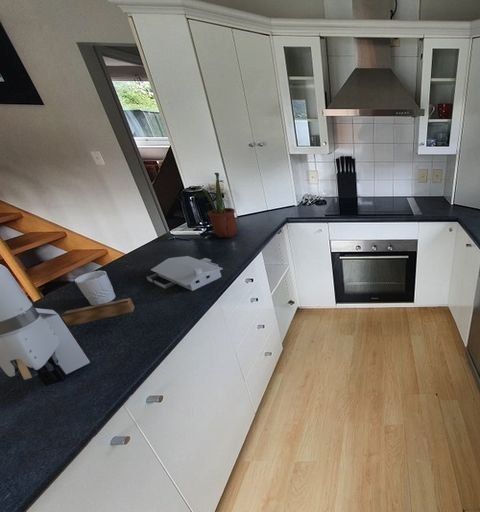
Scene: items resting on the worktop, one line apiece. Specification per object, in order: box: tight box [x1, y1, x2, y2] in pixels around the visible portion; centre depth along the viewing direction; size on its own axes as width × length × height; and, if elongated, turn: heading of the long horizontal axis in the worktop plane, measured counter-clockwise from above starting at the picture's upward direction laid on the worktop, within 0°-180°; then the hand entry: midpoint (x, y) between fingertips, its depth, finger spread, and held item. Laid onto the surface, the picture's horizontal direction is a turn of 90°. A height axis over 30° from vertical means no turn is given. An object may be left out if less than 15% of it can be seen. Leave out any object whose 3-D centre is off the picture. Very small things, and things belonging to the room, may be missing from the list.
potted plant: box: [191, 172, 238, 240], centre depth 144 cm, size 17×16×35 cm
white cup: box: [74, 270, 117, 306], centre depth 96 cm, size 8×8×10 cm
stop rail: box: [60, 297, 136, 327], centre depth 89 cm, size 16×3×5 cm, turn 118°
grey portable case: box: [145, 255, 224, 292], centre depth 114 cm, size 25×24×7 cm
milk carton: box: [35, 307, 91, 375], centre depth 67 cm, size 7×7×19 cm
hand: (56, 380), depth 65 cm, fingers closed
